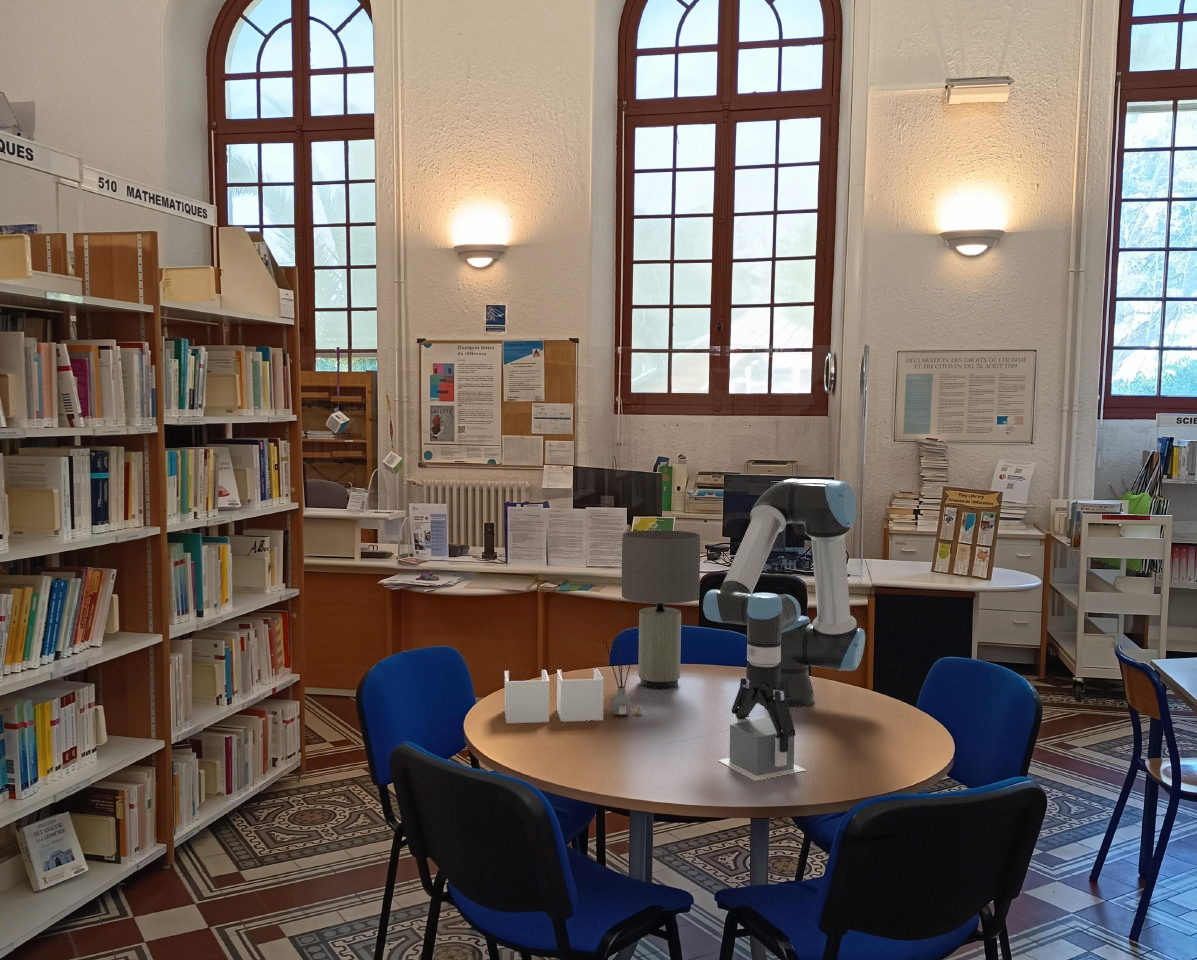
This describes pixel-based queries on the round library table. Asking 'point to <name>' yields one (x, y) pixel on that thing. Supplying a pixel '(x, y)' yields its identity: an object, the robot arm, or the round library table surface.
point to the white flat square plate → (760, 777)
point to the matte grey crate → (757, 747)
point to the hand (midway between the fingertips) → (761, 756)
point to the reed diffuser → (622, 691)
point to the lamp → (660, 596)
